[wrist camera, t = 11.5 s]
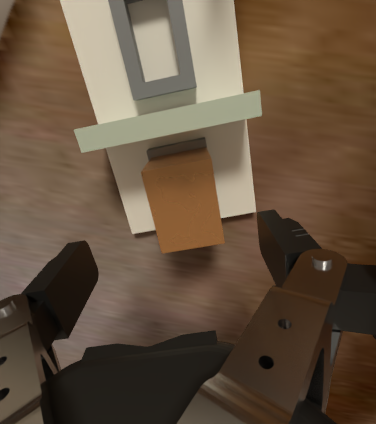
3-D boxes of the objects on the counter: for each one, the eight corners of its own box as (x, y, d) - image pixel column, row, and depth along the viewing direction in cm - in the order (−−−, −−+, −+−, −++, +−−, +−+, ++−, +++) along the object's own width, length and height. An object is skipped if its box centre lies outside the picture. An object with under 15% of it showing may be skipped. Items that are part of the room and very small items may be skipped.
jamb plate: (64, 1, 19) (14, -43, 14) (226, -40, 18) (243, -105, 13) (134, 229, 26) (119, 262, 20) (253, 207, 25) (272, 236, 20)
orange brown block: (153, 154, 22) (140, 172, 16) (205, 144, 22) (211, 158, 16) (168, 218, 24) (162, 253, 18) (215, 210, 24) (224, 243, 18)
